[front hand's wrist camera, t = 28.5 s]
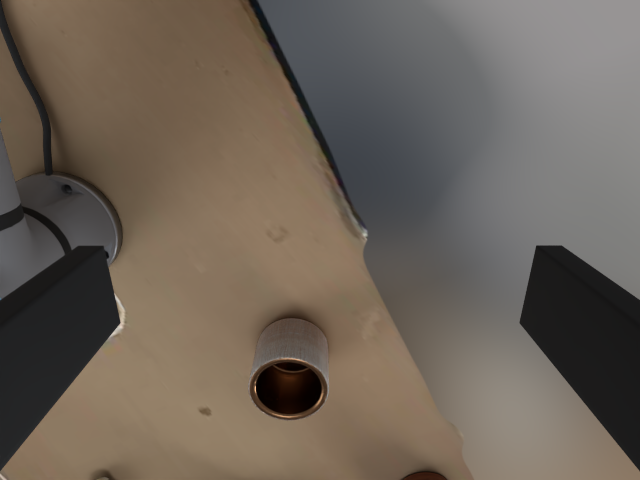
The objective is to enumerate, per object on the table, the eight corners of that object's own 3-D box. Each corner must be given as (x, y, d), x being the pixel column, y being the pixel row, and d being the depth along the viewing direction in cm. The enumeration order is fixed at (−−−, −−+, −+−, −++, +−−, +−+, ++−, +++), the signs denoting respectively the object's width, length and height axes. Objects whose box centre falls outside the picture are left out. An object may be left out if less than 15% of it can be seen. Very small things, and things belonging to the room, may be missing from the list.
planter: (342, 348, 62) (346, 393, 54) (291, 385, 65) (286, 433, 56) (295, 302, 59) (290, 342, 50) (243, 342, 62) (230, 387, 53)
